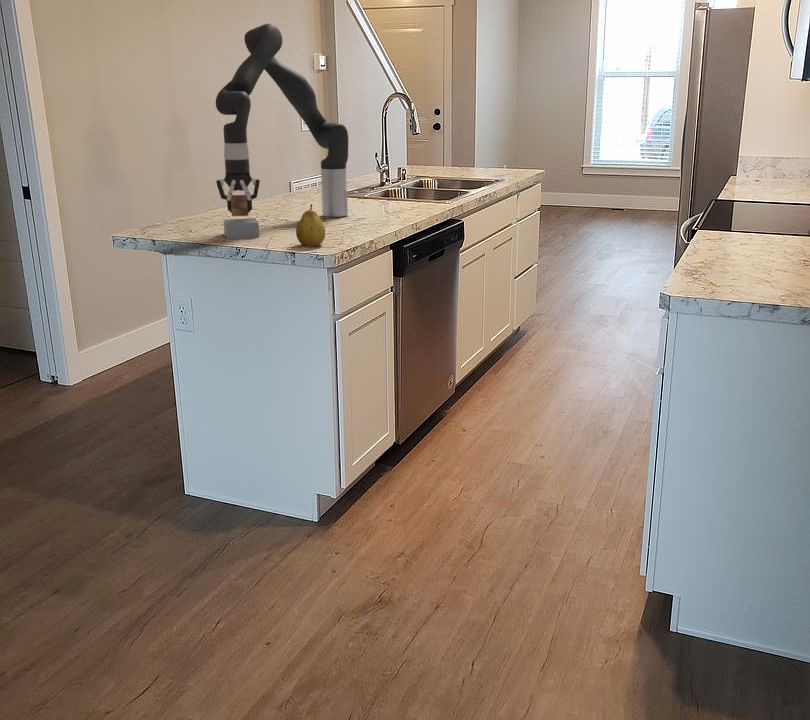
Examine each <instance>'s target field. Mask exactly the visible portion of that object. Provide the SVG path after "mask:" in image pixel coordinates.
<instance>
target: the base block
mask: <svg viewBox="0 0 810 720" xmlns="http://www.w3.org/2000/svg"><path fill="white" fill-rule="evenodd" d="M259 224H260V222H259V221H258V220H257V219H256V218H254V217H250V218H248V217H247V218H246V217H245V218H244V217H243V218H226V219H225V218H224V219H223V233H224V235H225V237H226V239H227V240H232V239H233V240H235V239H250V238H251V239H252V238H260V227H259Z"/></svg>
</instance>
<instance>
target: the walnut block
mask: <svg viewBox="0 0 810 720" xmlns="http://www.w3.org/2000/svg"><path fill="white" fill-rule="evenodd" d="M247 200H248V199H247V196H246V194H232V196H231V210H232V213H231V217H248V216H249V215H250V214H249V213H250V212H248V205H247Z"/></svg>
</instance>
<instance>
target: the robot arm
mask: <svg viewBox="0 0 810 720" xmlns="http://www.w3.org/2000/svg"><path fill="white" fill-rule="evenodd" d="M244 44H245V46H246V49H247V51H248V52H249V53H250V55H249V56H247V58H246V59H245V60H244V61H242V63H241V64H240V65H239V67H238V68H237V69H236V71H235V73H234V75H233V77H232V79H231V80H230V81H229V82H228V83H226V84H225V86H223V87H222V88H221V89H220V91H218V93H217V95H216V97H215V108H216V109H217V111H218V112H219V113H220V114H221V115H226V116H235V119H234V121H233V122H228V123H226V124H224V125H223V140H224V141H223V142H224V146H223V147H224V148H223V157H224V170H225V171H224V172H225V176H224V178H221V179H217V180H215V181H216V182H215V183H216V185H217V190H218V192H219V196H220V198H221V200H226V203H227V211H228V212H229V213H230V214H232V210H231V196H232V195H234V194H233V193H234V192H237V191H241V192H242V191H243V192H244V195H246V196H247V199H248V200H247V205H248V212H249V213H251V211H252V209H253V202H252V200H254V199H257V198H258V192H259V188H260V183H261V179H259V178H253V177H251V169H250V155H249V154H250V153H249V147H248V136H247V134H248V133H247V128H248V123H249V116H250V113H251V105H252V102H251V98H250V95H251V94H252V93H253V90H254V89H255V87H256V85H257V82H258V80H259V79H260V77H261V75H262V73H263V72H264V71H265V72H266V73H267V74H268V75H269V77H270V78H271V79H272V80H273V81H274V82H275V84H276V86H277V87H278V88H279V90H281V92H282V94H283V96H284V97H285V98H286V99H287V101H288V102H289V103H290V105H291V106H292V107H293V108H294V110H295V111H296V113H297V114H298V115H299V117H300V118H301V119H302V121H303V122H304V123H305V125H306V126H307V128H308V130H309V132H310V134H311V135H312V136H313V138H314V140H315V142H316V143H317V145H318V146H319V147H320V148H323V149H327V156H326V157H325V158H323V159H322V160H321V161H320V176H321V177H320V178H321V207H322V208H321V211H322V216H323V217H328V218H329V217H330V218H331V217H332V218H336V217H337V218H339V217H348V216H349V215H348V214H349V213H348V212H349V211H348V207H349V206H348V189H347V188H348V187H347V186H348V185H347V162H348V159H349V133H348V130H347V128H346V126H345V125H344V124H342V123H339V122H329V121H327V119H325V117H324V116H323V114H322V113H321V112H320V110H319V108H318V104H317V95H316V93H315V90H314V89H313V88H312V86H311V84H310V83H309V82H308V80H307V79H306V77H305V76H304V75H303V74H302V73H301V72H299V71H297V70H296V69H294V68H292V67H290V66H289V65H287V64H285V63H283V62H282V61H280V60H279V59H278V58H277V57H276V55H277V54H278V53H279V51H280V50H281V48H282V46H283V36H282V33H281V31H280V29H279V28H278V26H276V25H275V24H273V23H266V24H261V25H260V26H257V27H254V28H251V29H250V30H248V31H246V33H245V34H244ZM251 182H252V185H253V186H254V189H253V194H251V192H250V190H249V188H248V186H249V185H250V183H251ZM225 183H226V185H227V186H228V187H229V190H228V194H225V191H224V186H225Z"/></svg>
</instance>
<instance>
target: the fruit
mask: <svg viewBox="0 0 810 720" xmlns="http://www.w3.org/2000/svg"><path fill="white" fill-rule="evenodd" d="M309 207H310V208H309V210H306V211H305V212H303V213H302V216H301V218H300V220H299V222H298V224H297V226H296V230H295V234H296V239H297V240H298V242H299V243H300V245H302V246H305V247H318V246H320V245H321V244H322V243H323V241H324V240H325V238H326V227H325V225H324V223H323V221H322V219H321V218H320V217H319V215H318V213H316V211H314V210H312V208H313V204H312V203H311V204H310V206H309Z"/></svg>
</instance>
